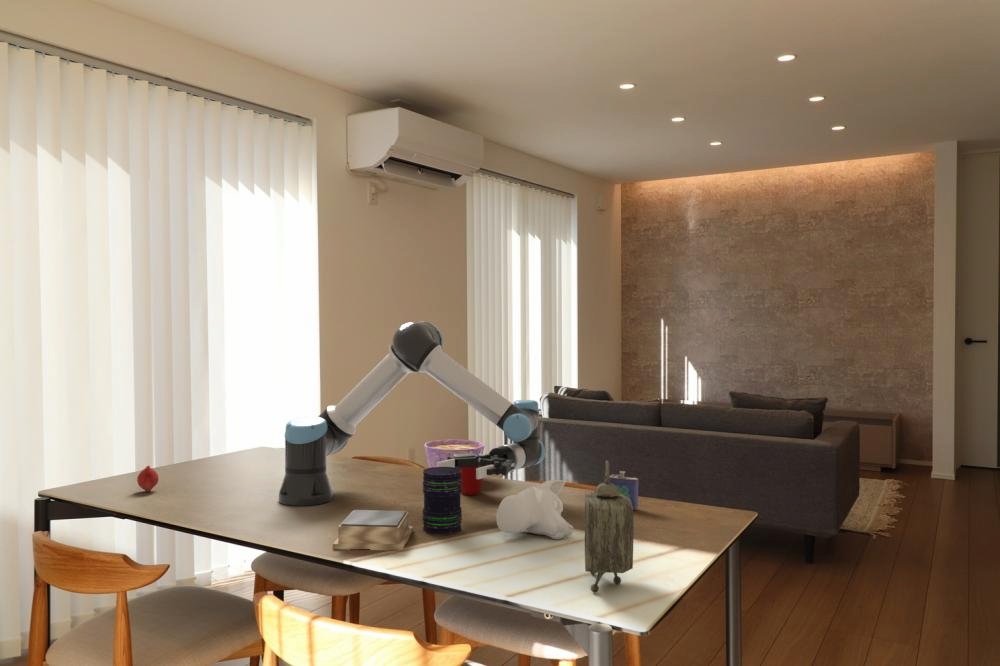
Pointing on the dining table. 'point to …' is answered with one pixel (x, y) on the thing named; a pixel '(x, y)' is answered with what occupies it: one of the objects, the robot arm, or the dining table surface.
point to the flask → (626, 487)
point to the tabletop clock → (608, 531)
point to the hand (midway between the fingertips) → (456, 470)
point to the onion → (147, 478)
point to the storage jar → (442, 500)
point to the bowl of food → (450, 449)
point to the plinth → (374, 530)
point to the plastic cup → (470, 478)
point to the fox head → (535, 511)
